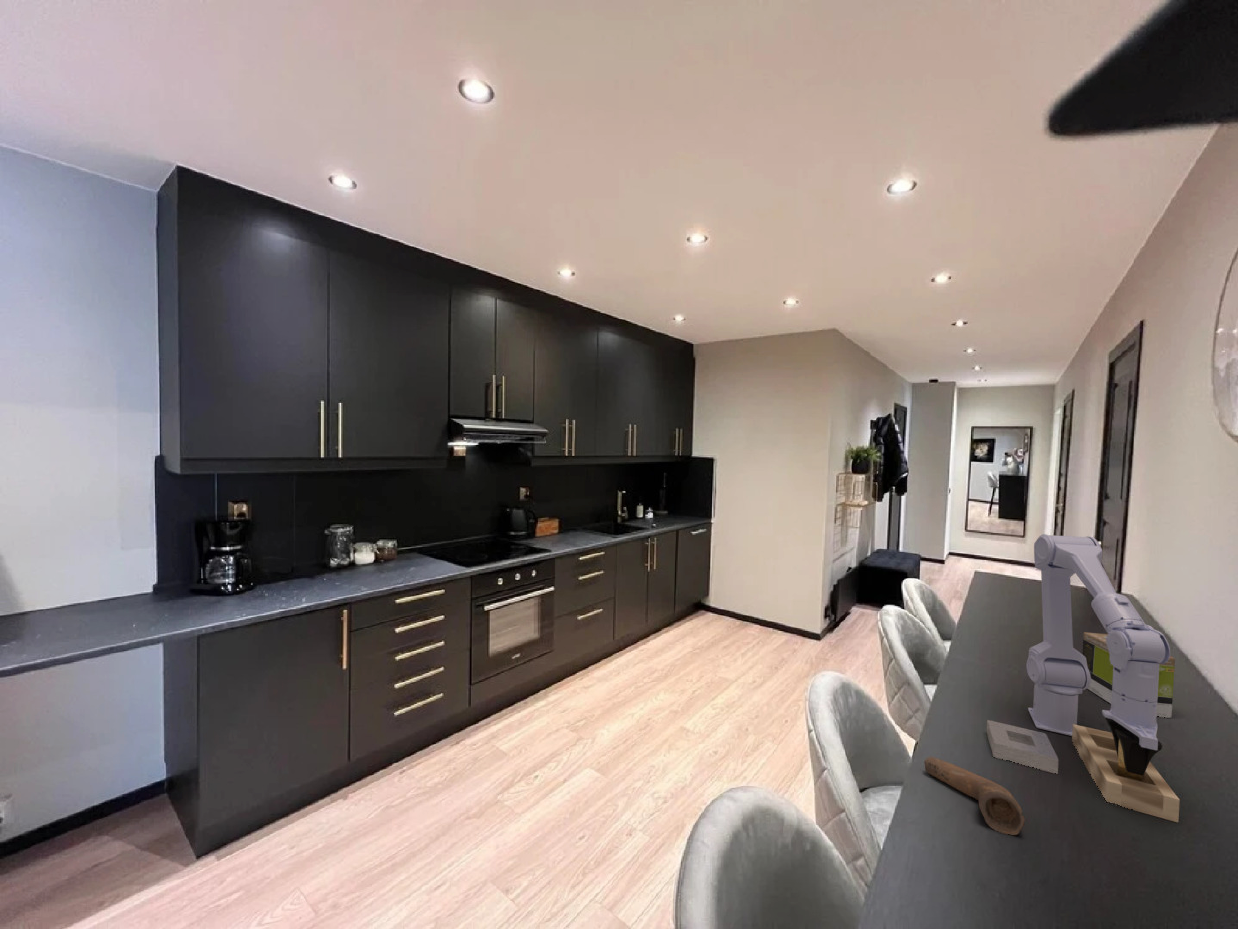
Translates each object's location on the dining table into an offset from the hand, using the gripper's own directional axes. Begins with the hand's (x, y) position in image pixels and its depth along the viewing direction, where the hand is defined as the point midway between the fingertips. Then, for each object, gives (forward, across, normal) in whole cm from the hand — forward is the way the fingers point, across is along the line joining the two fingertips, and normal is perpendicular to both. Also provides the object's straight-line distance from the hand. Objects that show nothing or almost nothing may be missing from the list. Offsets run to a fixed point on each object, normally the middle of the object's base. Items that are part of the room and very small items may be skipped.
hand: (1130, 766), depth 90 cm
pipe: (+6, +18, -26) cm, 32 cm away
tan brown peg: (+4, 0, 0) cm, 4 cm away
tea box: (+5, -46, +12) cm, 48 cm away
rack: (+5, -5, 0) cm, 7 cm away
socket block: (+5, -5, -15) cm, 17 cm away
